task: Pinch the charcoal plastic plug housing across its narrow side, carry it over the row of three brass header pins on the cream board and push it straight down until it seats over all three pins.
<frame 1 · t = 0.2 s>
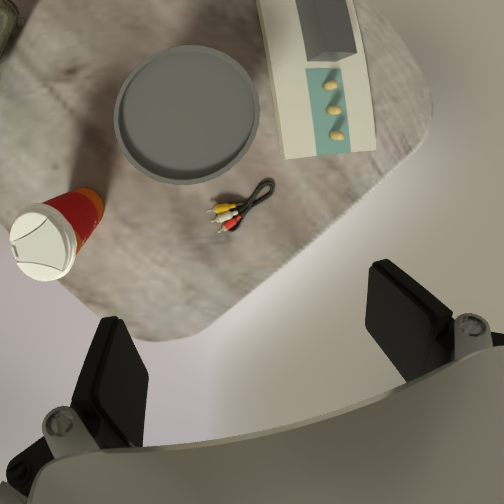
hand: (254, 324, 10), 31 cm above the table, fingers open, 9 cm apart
composite cable: (243, 206, 41), on the table
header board: (317, 71, 34), on the table
coffee cup: (86, 207, 36), on the table
plug housing: (315, 26, 30), point 2 cm above the table, touching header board
reusable coffee cup: (190, 120, 35), on the table
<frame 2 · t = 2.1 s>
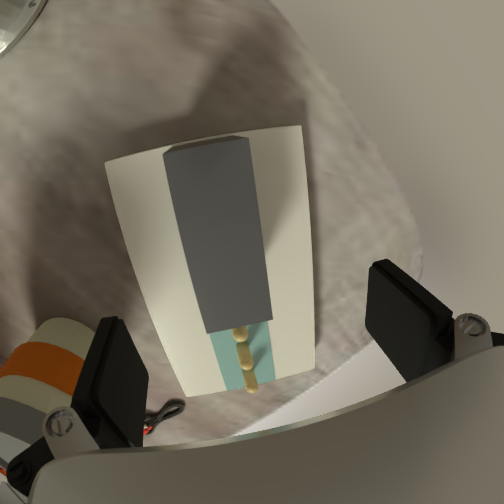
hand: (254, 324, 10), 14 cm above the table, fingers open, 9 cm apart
composite cable: (155, 414, 32), on the table
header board: (227, 279, 26), on the table
plug housing: (215, 215, 21), point 2 cm above the table, touching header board
reusable coffee cup: (73, 350, 26), on the table
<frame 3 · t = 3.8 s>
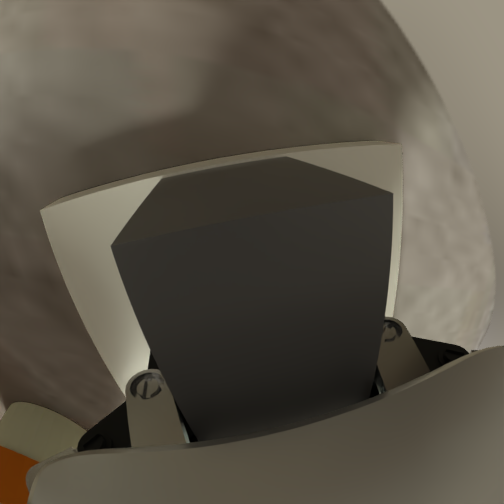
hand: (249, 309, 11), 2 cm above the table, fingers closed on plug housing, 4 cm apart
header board: (259, 376, 16), on the table
plug housing: (248, 304, 12), point 2 cm above the table, touching gripper, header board
reusable coffee cup: (53, 433, 16), on the table
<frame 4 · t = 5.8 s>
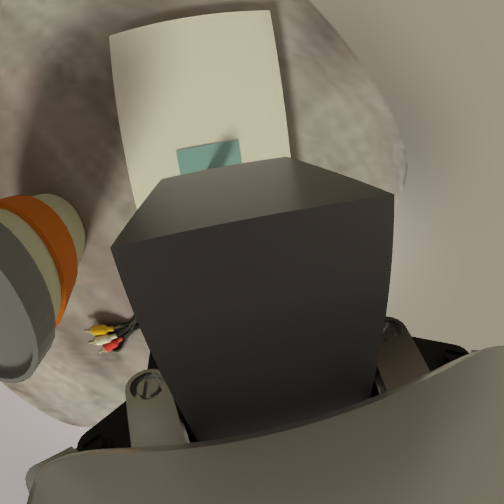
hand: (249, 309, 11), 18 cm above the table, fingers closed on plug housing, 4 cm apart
composite cable: (128, 325, 32), on the table
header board: (206, 143, 25), on the table
plug housing: (248, 305, 12), point 17 cm above the table, touching gripper
reusable coffee cup: (49, 234, 25), on the table
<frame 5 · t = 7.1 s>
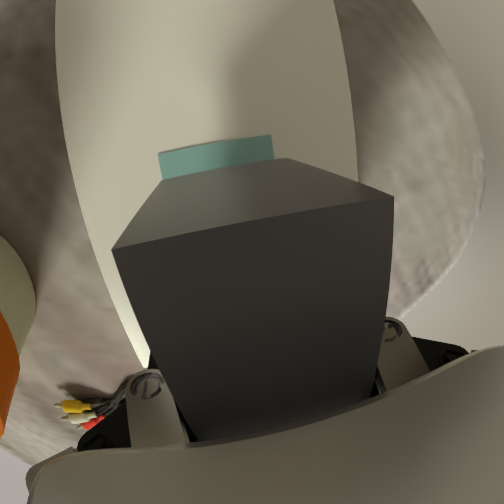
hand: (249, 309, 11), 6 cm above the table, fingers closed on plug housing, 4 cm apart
composite cable: (110, 398, 21), on the table
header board: (212, 141, 14), on the table
plug housing: (248, 305, 12), point 6 cm above the table, touching gripper
when the fingers open (3 cm above the table, at t = 8.1 s): plug housing stays where it is, resting on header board.
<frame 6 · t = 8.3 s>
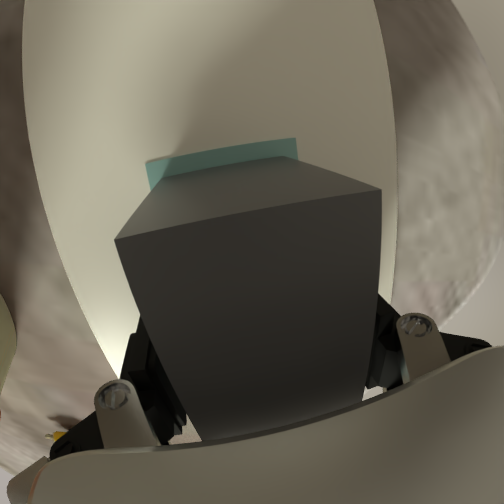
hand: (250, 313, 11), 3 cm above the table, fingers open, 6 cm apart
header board: (217, 145, 11), on the table
plug housing: (246, 301, 12), point 2 cm above the table, touching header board
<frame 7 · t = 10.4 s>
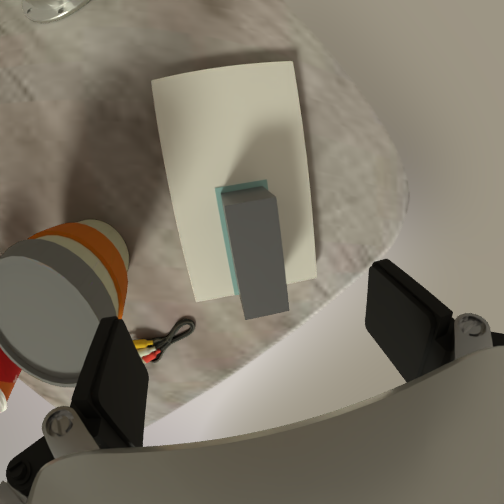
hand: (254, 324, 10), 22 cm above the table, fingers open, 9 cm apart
composite cable: (165, 338, 37), on the table
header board: (238, 180, 30), on the table
coffee cup: (23, 326, 32), on the table
plug housing: (249, 240, 31), point 2 cm above the table, touching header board
reusable coffee cup: (94, 255, 31), on the table
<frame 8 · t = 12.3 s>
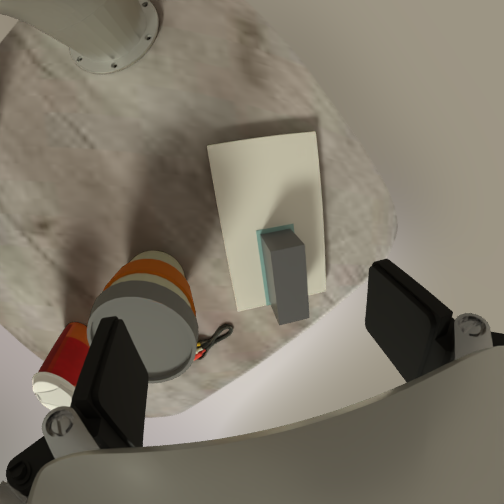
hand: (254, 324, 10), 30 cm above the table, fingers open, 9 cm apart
composite cable: (208, 340, 48), on the table
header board: (271, 222, 41), on the table
coffee cup: (80, 335, 43), on the table
plug housing: (279, 267, 42), point 2 cm above the table, touching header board
reusable coffee cup: (155, 278, 42), on the table
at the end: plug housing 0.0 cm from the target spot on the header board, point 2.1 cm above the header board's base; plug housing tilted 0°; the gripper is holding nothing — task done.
